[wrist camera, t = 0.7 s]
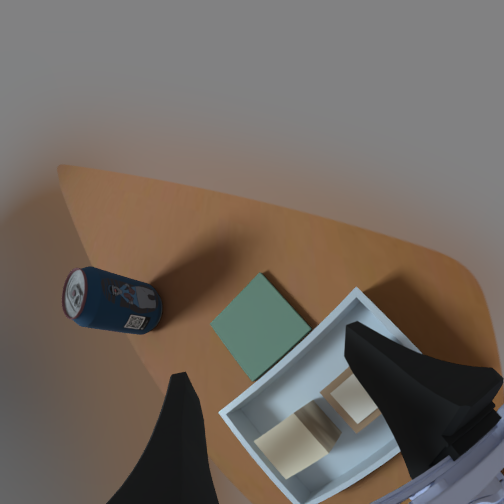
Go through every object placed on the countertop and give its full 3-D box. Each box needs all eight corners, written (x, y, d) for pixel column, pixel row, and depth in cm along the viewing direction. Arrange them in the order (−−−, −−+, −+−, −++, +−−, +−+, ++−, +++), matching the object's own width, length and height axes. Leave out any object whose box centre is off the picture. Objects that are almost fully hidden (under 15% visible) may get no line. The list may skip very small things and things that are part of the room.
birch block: (342, 432, 22) (328, 453, 17) (306, 457, 22) (285, 479, 17) (312, 399, 24) (293, 412, 19) (279, 425, 24) (253, 441, 20)
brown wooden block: (401, 382, 21) (404, 394, 16) (364, 415, 21) (356, 434, 16) (370, 348, 23) (364, 351, 18) (333, 382, 23) (318, 392, 19)
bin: (452, 389, 19) (461, 396, 16) (311, 495, 21) (300, 511, 18) (360, 292, 25) (356, 286, 22) (236, 406, 27) (218, 412, 25)
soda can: (126, 312, 39) (55, 297, 29) (148, 275, 39) (76, 250, 29) (148, 345, 35) (70, 337, 25) (174, 306, 35) (94, 287, 25)
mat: (312, 329, 27) (310, 328, 26) (254, 380, 28) (252, 381, 27) (262, 273, 31) (259, 272, 30) (213, 324, 32) (210, 323, 31)
